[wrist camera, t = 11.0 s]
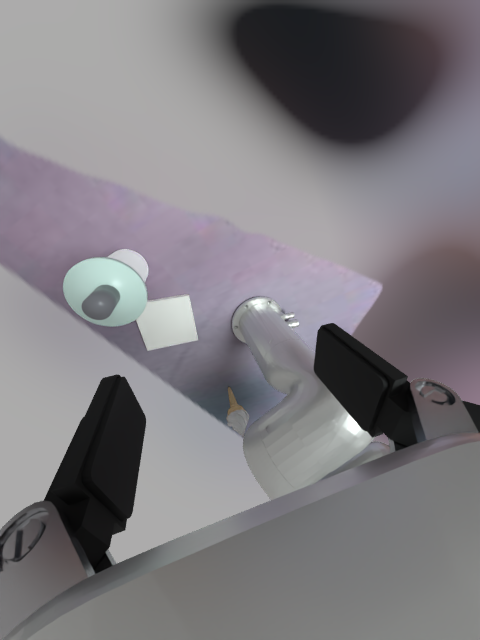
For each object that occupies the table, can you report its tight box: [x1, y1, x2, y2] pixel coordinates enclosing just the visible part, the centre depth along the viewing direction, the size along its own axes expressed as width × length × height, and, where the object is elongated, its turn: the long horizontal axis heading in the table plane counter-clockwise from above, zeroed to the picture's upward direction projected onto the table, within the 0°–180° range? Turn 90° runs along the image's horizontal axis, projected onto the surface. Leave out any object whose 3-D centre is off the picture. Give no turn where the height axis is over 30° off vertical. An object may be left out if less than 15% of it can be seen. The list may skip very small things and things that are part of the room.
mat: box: [136, 294, 198, 351], centre depth 43 cm, size 11×11×1 cm
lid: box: [63, 257, 148, 327], centre depth 24 cm, size 9×9×5 cm
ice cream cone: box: [227, 387, 249, 438], centre depth 51 cm, size 6×6×15 cm
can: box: [108, 249, 148, 283], centre depth 31 cm, size 6×6×12 cm
